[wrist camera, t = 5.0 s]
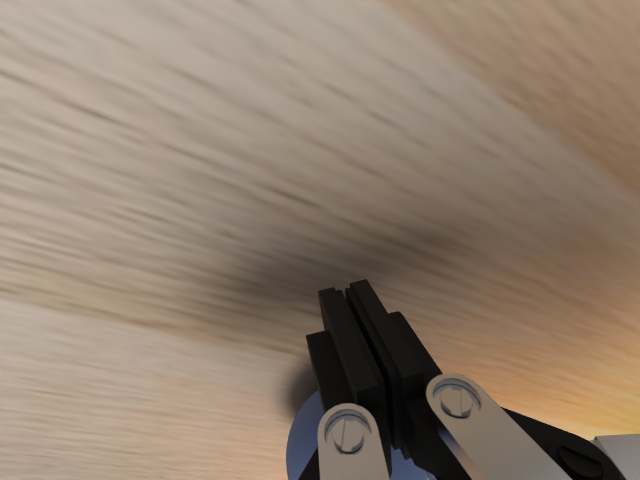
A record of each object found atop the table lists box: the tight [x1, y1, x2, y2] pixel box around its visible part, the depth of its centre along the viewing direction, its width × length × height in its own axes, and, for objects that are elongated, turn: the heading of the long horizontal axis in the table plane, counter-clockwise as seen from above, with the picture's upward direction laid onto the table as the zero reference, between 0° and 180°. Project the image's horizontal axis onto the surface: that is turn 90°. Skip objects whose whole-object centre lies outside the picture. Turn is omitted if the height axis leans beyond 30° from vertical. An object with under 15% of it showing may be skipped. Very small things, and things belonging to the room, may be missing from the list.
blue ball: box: [286, 390, 428, 480], centre depth 13 cm, size 5×5×5 cm
